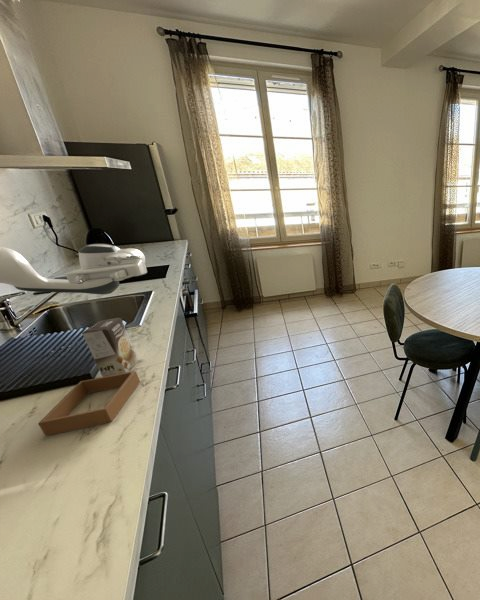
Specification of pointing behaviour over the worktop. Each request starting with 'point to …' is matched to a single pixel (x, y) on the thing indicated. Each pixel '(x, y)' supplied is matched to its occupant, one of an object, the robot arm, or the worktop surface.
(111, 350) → the coffee box
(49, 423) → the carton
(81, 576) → the worktop surface
